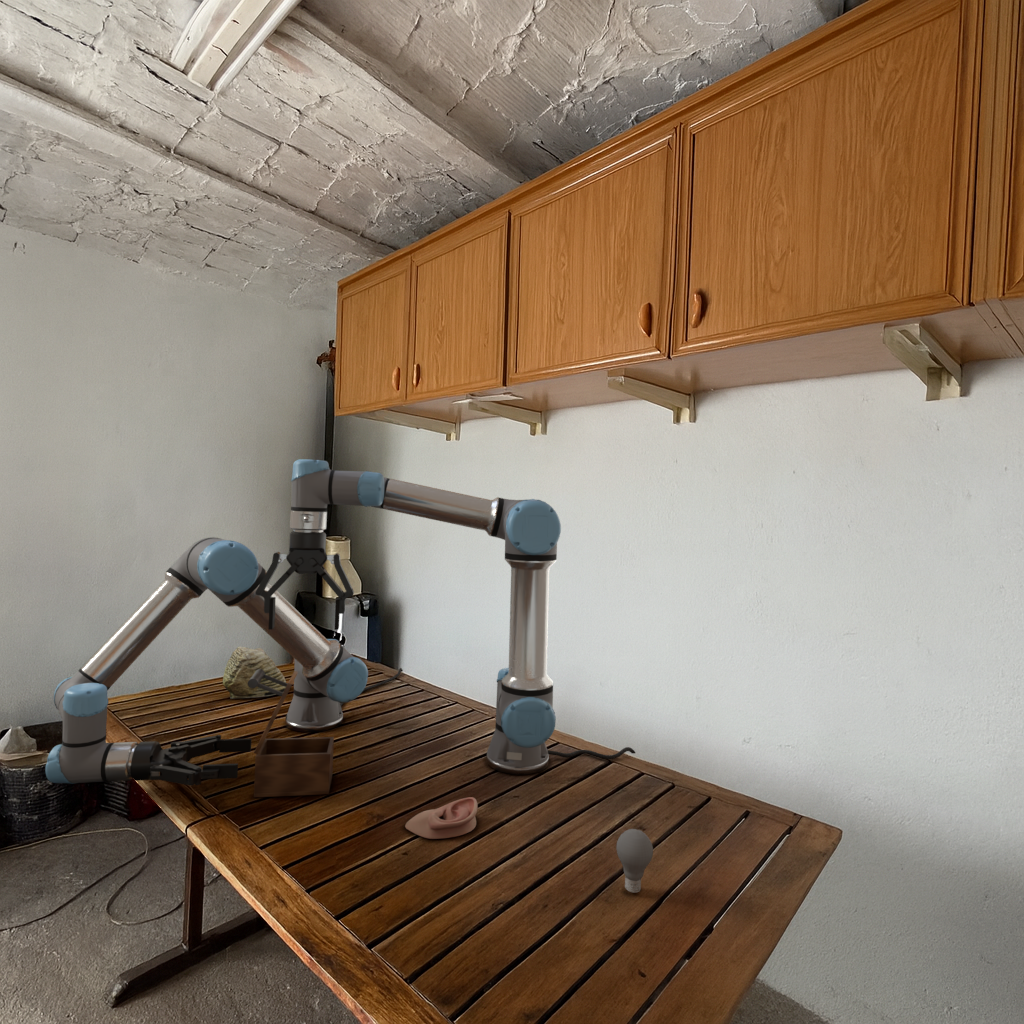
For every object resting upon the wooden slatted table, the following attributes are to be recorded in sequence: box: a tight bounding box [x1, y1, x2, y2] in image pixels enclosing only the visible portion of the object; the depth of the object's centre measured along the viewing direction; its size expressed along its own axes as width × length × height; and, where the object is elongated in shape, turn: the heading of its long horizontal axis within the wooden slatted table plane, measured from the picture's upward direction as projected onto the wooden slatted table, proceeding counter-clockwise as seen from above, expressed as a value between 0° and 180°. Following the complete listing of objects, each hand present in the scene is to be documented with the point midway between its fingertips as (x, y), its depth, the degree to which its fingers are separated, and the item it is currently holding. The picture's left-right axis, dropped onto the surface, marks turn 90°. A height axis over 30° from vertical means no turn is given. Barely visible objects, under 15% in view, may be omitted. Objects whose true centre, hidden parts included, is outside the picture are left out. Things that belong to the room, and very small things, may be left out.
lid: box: [248, 669, 298, 755], centre depth 136 cm, size 16×10×8 cm
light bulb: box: [615, 828, 654, 894], centre depth 106 cm, size 6×6×10 cm
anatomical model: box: [404, 796, 479, 840], centre depth 124 cm, size 13×4×12 cm
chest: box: [253, 736, 335, 798], centre depth 138 cm, size 15×10×9 cm, turn 101°
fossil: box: [222, 646, 287, 699], centre depth 198 cm, size 9×18×15 cm, turn 132°
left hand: (244, 757), depth 136 cm, fingers open, 13 cm apart
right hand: (304, 628), depth 138 cm, fingers open, 13 cm apart
